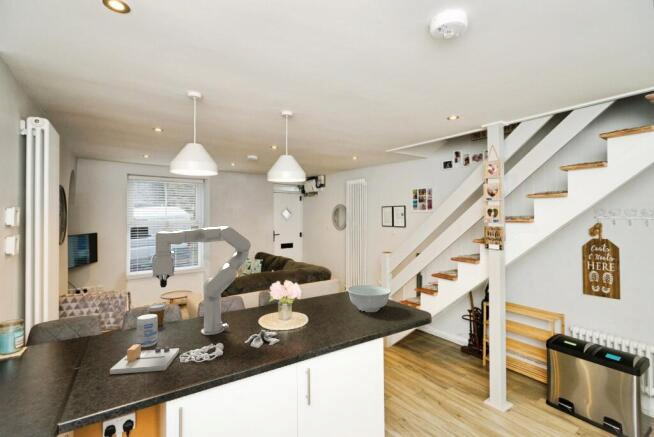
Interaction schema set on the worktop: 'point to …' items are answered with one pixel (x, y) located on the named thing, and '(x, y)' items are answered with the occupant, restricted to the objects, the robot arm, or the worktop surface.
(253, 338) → the cloth
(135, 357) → the block
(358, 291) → the bowl
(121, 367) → the console
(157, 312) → the disposable coffee cup
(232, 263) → the robot arm
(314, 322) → the worktop surface
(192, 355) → the tangled rod sculpture
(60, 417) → the worktop surface
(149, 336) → the supplement tub
